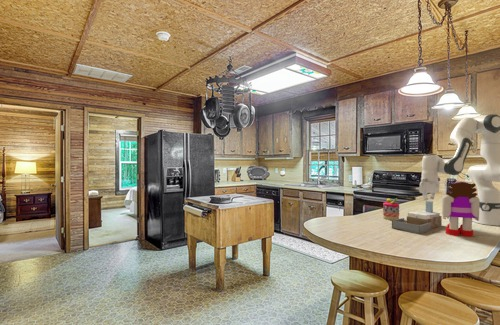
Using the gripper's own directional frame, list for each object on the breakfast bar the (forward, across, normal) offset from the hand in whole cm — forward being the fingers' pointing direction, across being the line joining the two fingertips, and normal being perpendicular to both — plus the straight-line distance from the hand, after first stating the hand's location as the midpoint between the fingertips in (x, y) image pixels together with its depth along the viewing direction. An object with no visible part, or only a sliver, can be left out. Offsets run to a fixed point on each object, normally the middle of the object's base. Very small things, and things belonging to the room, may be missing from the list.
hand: (428, 199), depth 180 cm
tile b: (+10, -14, +3) cm, 18 cm away
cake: (+16, -4, +23) cm, 28 cm away
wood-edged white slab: (+16, -6, 0) cm, 17 cm away
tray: (+16, -24, 0) cm, 29 cm away
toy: (+16, -13, -21) cm, 30 cm away
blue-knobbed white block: (+10, -3, 0) cm, 11 cm away
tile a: (+10, -14, -3) cm, 18 cm away
